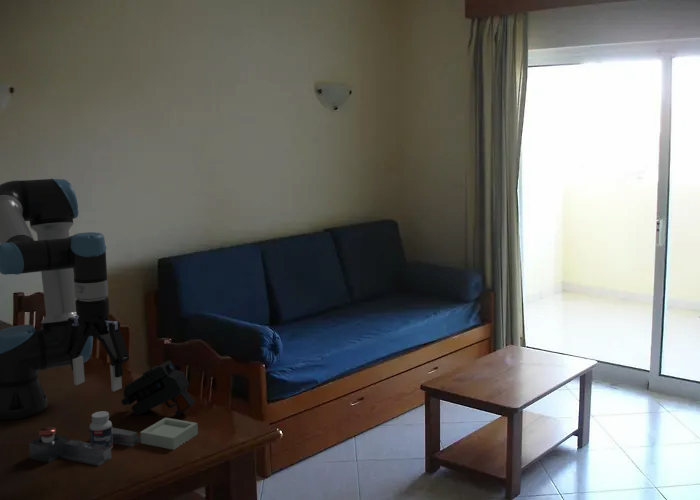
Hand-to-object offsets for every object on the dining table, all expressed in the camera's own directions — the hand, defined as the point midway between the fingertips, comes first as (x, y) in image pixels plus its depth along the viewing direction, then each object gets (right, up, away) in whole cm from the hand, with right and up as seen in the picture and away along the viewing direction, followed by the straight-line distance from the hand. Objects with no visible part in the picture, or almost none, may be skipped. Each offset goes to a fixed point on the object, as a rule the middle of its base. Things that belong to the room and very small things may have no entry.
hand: (97, 386), depth 175 cm
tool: (+8, -12, +25) cm, 29 cm away
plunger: (-11, -16, -1) cm, 19 cm away
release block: (-11, -17, -1) cm, 20 cm away
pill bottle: (0, -16, +3) cm, 16 cm away
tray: (+15, -15, +8) cm, 23 cm away
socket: (0, -16, +3) cm, 16 cm away
